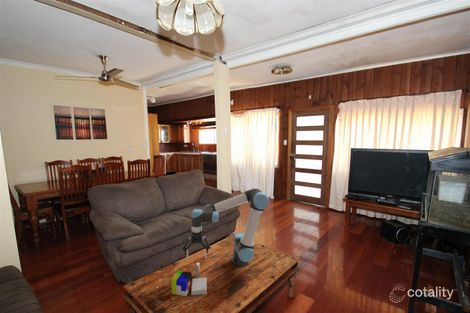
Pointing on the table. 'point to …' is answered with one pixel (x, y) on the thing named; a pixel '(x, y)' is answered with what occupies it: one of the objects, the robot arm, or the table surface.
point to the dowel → (197, 270)
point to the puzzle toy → (181, 283)
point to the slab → (199, 286)
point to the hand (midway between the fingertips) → (196, 258)
